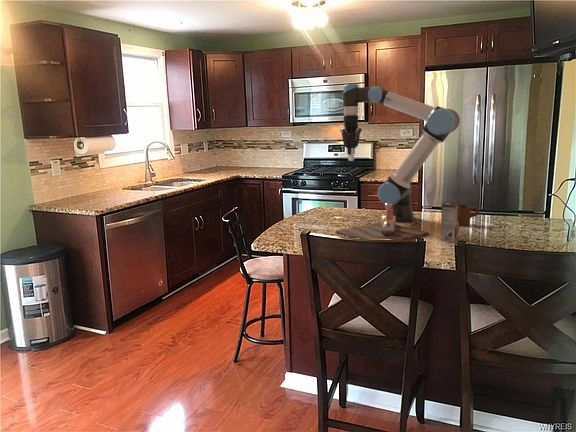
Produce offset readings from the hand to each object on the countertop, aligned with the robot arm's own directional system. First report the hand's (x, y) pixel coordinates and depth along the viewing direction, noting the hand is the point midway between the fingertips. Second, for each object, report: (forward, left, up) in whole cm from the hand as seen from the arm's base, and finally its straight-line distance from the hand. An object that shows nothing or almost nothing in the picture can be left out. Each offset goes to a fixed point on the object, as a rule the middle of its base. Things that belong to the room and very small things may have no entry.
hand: (351, 160), depth 245 cm
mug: (-37, +45, -33) cm, 67 cm away
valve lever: (+11, +40, -22) cm, 47 cm away
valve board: (+10, +33, -32) cm, 47 cm away
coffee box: (-8, +58, -33) cm, 67 cm away
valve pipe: (+5, +33, -32) cm, 47 cm away
